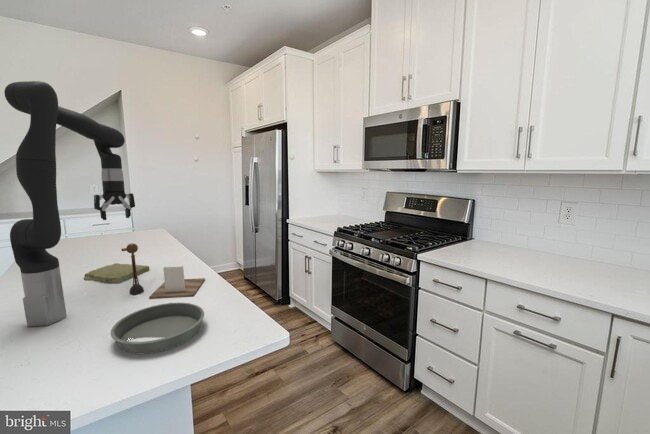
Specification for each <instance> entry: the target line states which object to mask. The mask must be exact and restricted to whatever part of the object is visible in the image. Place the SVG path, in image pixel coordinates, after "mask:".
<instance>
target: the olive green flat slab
mask: <svg viewBox="0 0 650 434" xmlns="http://www.w3.org/2000/svg"><path fill="white" fill-rule="evenodd" d="M136 271H137V277H138V276H140V275H143V274H145V273H147V272H150V271H151V270H150V266H149V265H142V264H136ZM131 279H132V280H133V269H132V263H131V264H130V263H115V262H114V263H113V264H108V265H105V266H102V267H99V268H96V269H92V270H91V271H89V272H86V273H85V274H84V277H83V281H90V282H91V281H94V282H99V283H103V284H116V285H120V284H121V283H122V284H123V283H124V282H126V281H129V280H131Z"/></svg>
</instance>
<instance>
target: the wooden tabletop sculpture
mask: <svg viewBox="0 0 650 434" xmlns="http://www.w3.org/2000/svg"><path fill="white" fill-rule="evenodd" d="M138 249H139V246H138V245H137V244H136V243H128V244H127V246H126V247H124V248H123V247H122V248H121V252H127V253H129V254H131V255H130V257H131V265H132V269H133V278H132V286H131V287H130V289H129V295H131V296H136V295H139V294H143V293H144V292H145V290H144V287H143V286H142V285H141V283H139V278H138V276H137V271H136V265H137V263H136V255H135V253H136V252H137V251H138Z"/></svg>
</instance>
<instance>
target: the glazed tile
mask: <svg viewBox="0 0 650 434" xmlns="http://www.w3.org/2000/svg"><path fill="white" fill-rule="evenodd" d="M184 272H185V271H184V265H172V266H171V265H169V266H163V277H164V279H163V281H164V282H165V291H166V292H176V291H185V282H184V279H185V274H184Z"/></svg>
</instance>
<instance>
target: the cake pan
mask: <svg viewBox="0 0 650 434" xmlns="http://www.w3.org/2000/svg"><path fill="white" fill-rule="evenodd" d="M204 317H205V311H204V309H203V308H202V307H201V306H199V305H197V304H194V303H190V302H168V303H167V302H166V303H161V304H157V305H151V306H148V307H144V308H142V309H139V310H136V311H133V312H131V313H130V314H128V315H125V316H124V317H122V318H120V319H119V320H118V321H117V322H116V323H115V324H114V325H113V326H112V328H111V330H110V336H111V338H112V339H113V340H114V341H115V342H117V343H118V345H119V347H120V348H121V350H122V351H125V352H127V353H130V352H131V354H138V353H144V354H152V352H154V353H159V352H163V351H167V350H170V349H172V348H175V347H177V346H180V345H182V344H184V343H186V342H187V341H189V340H191V339H192V338H194V337H195V335H197V334H198V332H199V330H200V327H201V326H200V325H201V322H202V321H203V319H204ZM128 338H129V339H130V338H131V339H132V338H133V339H134V340H137V339H144V338H146V339H147V338H148V339H149V338H157V339H154V340H153V339H152V340H144V341H133V339H132V340H131V339H130V341H129V340H128ZM127 340H128V341H127ZM158 351H159V352H158Z"/></svg>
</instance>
